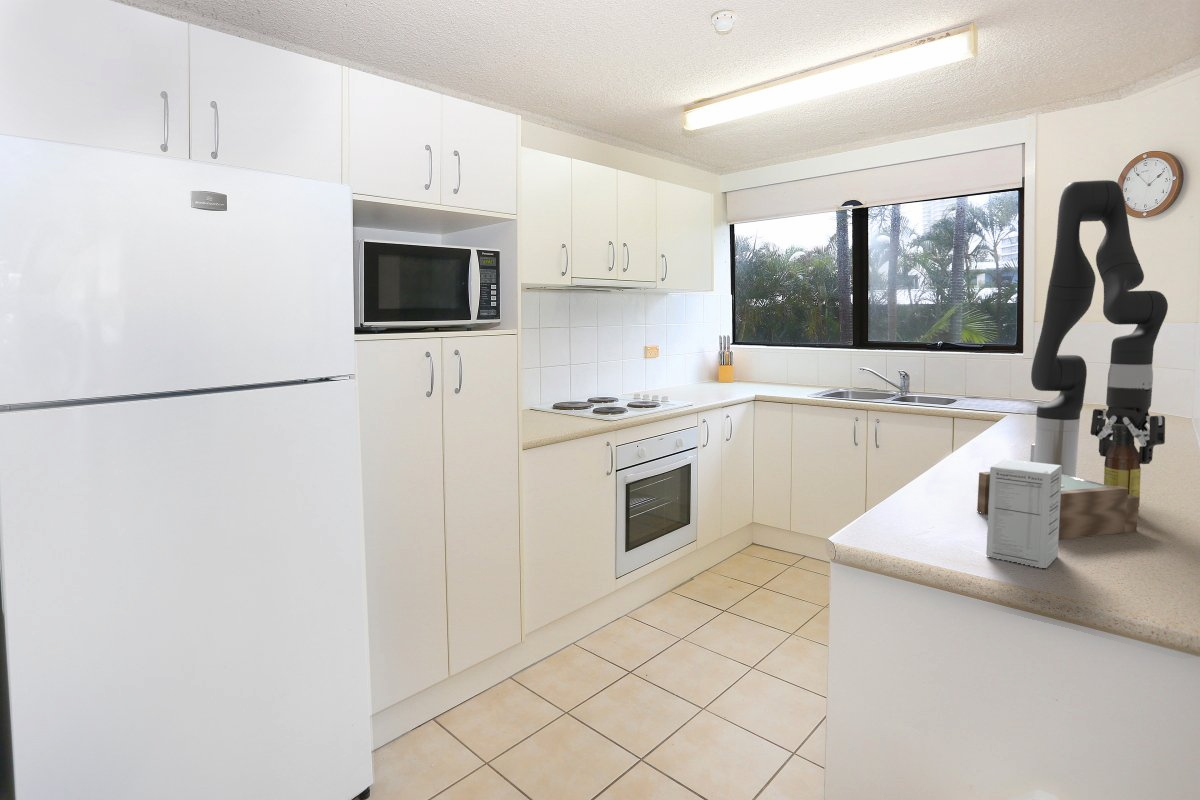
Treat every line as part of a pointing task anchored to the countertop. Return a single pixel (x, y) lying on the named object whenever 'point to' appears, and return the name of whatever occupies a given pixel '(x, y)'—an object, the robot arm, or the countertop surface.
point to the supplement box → (1024, 512)
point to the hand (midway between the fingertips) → (1124, 459)
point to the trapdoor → (1078, 483)
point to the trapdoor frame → (1084, 509)
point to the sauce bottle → (1123, 461)
